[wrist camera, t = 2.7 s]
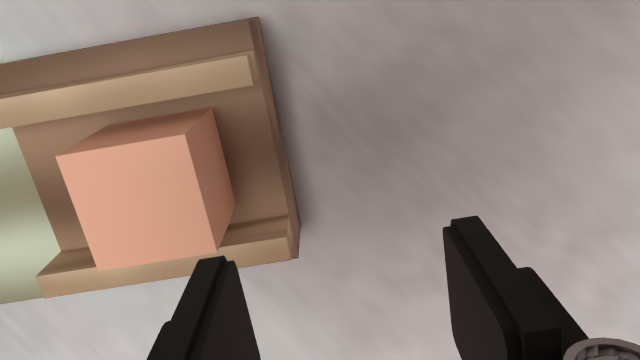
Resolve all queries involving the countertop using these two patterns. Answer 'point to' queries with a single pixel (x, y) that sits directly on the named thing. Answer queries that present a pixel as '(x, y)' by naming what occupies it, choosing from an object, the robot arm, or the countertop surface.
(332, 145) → the countertop surface
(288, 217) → the brown rectangular tray
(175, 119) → the block
